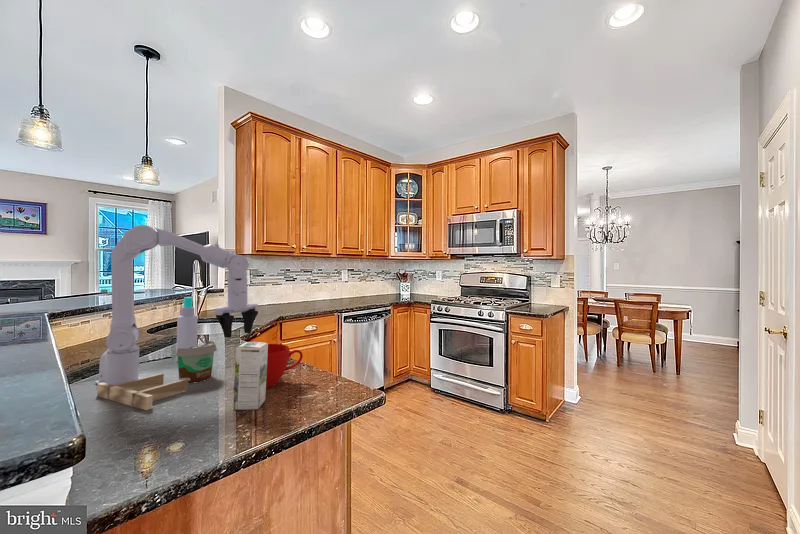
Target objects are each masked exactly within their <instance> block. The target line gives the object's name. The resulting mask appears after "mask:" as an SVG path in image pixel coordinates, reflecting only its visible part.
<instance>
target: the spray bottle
mask: <svg viewBox="0 0 800 534" xmlns="http://www.w3.org/2000/svg"><path fill="white" fill-rule="evenodd" d="M176 325H177V326H176V328H177V329H176V352H177V349H178V348H190V347H193V346H198V315H196V314H195V307H194V306H193V297H192V296H184V297H183V306H182V307H181V312H180V315H177V324H176ZM175 359H176V360H175V361H176V362H178V356H176V355H175Z"/></svg>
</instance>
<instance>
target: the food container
mask: <svg viewBox="0 0 800 534" xmlns="http://www.w3.org/2000/svg"><path fill="white" fill-rule="evenodd" d="M176 351H177V352H176V353H175V357H176V356H178V361H177V364H178V367H177V368H178V370H177V371H178V380H182V379H188V383H190V384H195V383H194V382H198V383H201V382H200V381H202V382H205V381H204V380H206V381H208V380H210V379H211V378H212V372H213V364H214V356H215V355H214V354H215V352H217V351H218V350H217V346H216V343H215V341H211V340H207V341H206V343H205V344H201V345H197V346H193V347H190V348H178V349H177V348H176ZM209 378H210V379H209ZM207 379H208V380H207Z"/></svg>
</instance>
